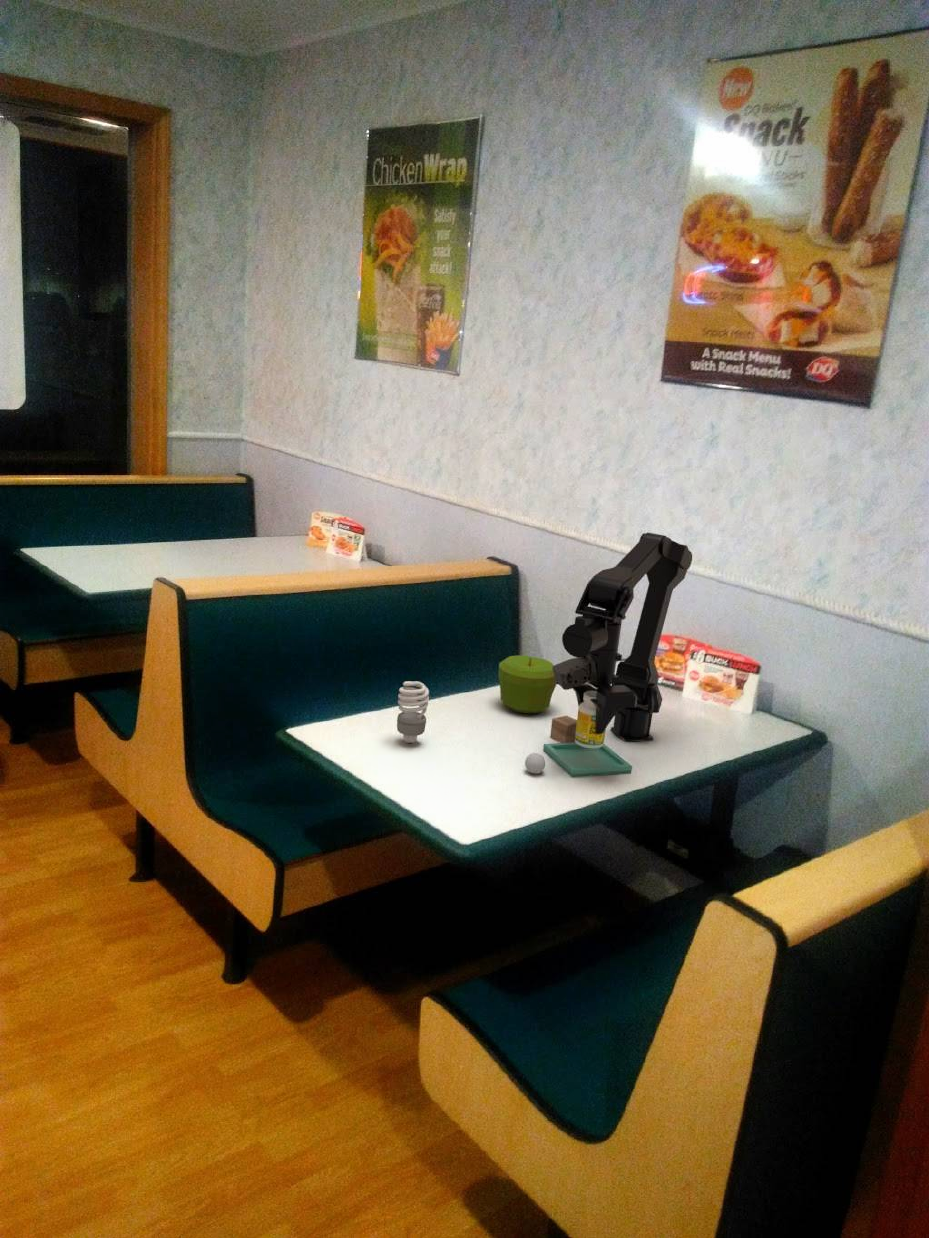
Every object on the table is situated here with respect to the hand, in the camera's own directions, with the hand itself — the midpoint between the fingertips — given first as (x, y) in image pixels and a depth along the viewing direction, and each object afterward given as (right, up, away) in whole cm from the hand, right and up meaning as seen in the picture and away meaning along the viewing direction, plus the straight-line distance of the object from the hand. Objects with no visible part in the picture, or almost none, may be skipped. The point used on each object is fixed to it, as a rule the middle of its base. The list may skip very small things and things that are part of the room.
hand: (591, 727), depth 177 cm
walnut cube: (-4, -4, +12) cm, 13 cm away
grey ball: (-11, -7, -6) cm, 14 cm away
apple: (-11, +1, +27) cm, 29 cm away
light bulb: (-33, -3, +2) cm, 33 cm away
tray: (-1, -6, +2) cm, 7 cm away
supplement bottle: (0, -3, +1) cm, 3 cm away
